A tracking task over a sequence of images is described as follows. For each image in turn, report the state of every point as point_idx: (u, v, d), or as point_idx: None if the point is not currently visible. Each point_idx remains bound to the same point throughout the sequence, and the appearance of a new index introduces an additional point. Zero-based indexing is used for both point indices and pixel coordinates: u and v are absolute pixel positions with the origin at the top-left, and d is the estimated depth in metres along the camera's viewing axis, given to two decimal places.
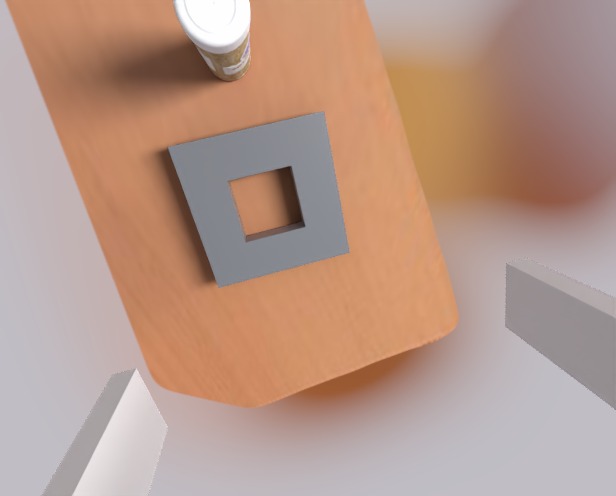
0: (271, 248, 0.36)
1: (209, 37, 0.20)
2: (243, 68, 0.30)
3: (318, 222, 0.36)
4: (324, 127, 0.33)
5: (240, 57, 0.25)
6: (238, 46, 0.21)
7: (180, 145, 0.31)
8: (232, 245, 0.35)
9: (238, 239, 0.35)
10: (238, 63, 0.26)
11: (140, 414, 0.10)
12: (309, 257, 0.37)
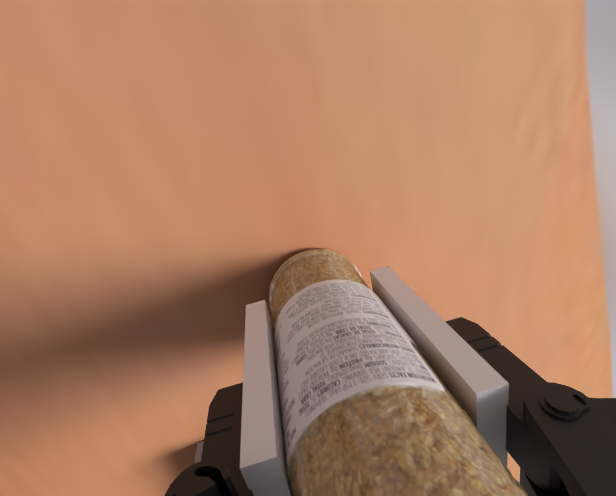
0: None
1: None
2: None
3: None
4: None
5: None
6: None
7: None
8: None
9: None
10: None
11: (272, 334, 0.12)
12: None
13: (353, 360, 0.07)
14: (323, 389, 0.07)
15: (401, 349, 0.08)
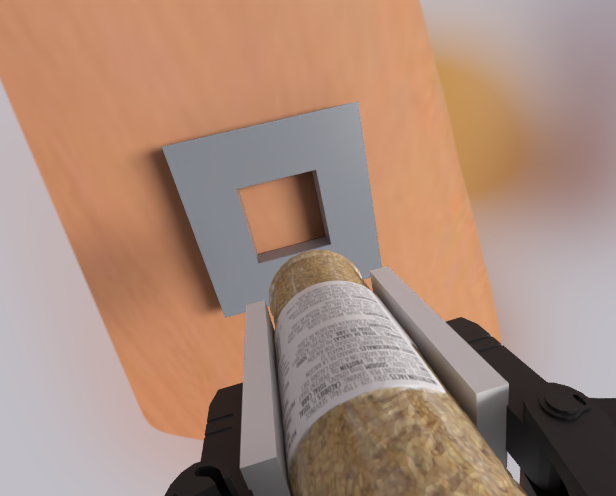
0: None
1: None
2: None
3: (346, 238, 0.30)
4: (358, 122, 0.26)
5: None
6: None
7: (178, 144, 0.25)
8: (241, 267, 0.29)
9: (249, 260, 0.29)
10: None
11: (272, 334, 0.12)
12: None
13: (354, 362, 0.07)
14: (323, 391, 0.07)
15: (402, 351, 0.08)
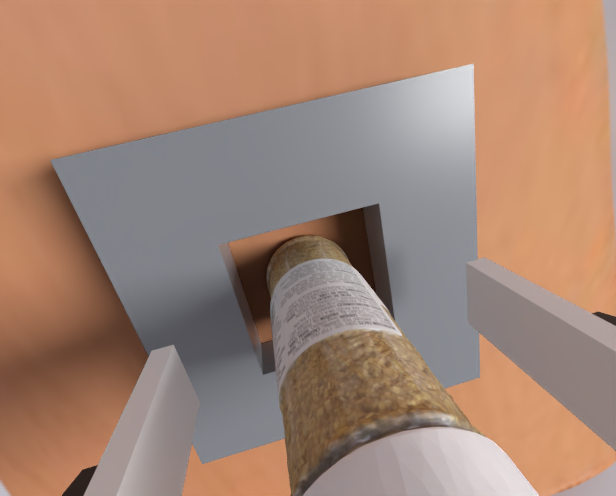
0: None
1: None
2: None
3: (425, 324, 0.16)
4: (468, 107, 0.13)
5: None
6: None
7: (87, 155, 0.11)
8: (231, 382, 0.15)
9: (246, 369, 0.15)
10: None
11: (179, 386, 0.10)
12: None
13: (331, 314, 0.09)
14: (306, 334, 0.09)
15: (371, 307, 0.10)
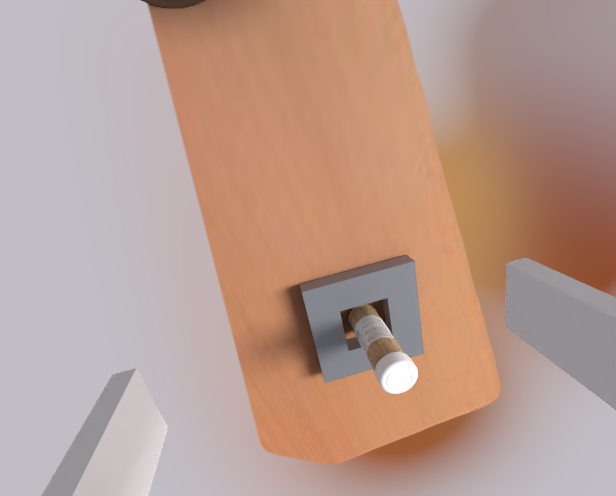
0: None
1: (395, 391, 0.36)
2: None
3: (403, 334, 0.47)
4: (413, 271, 0.44)
5: None
6: None
7: (310, 290, 0.42)
8: (338, 353, 0.46)
9: (343, 349, 0.46)
10: None
11: (140, 414, 0.10)
12: None
13: (377, 333, 0.40)
14: (372, 338, 0.40)
15: (386, 331, 0.40)
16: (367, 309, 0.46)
